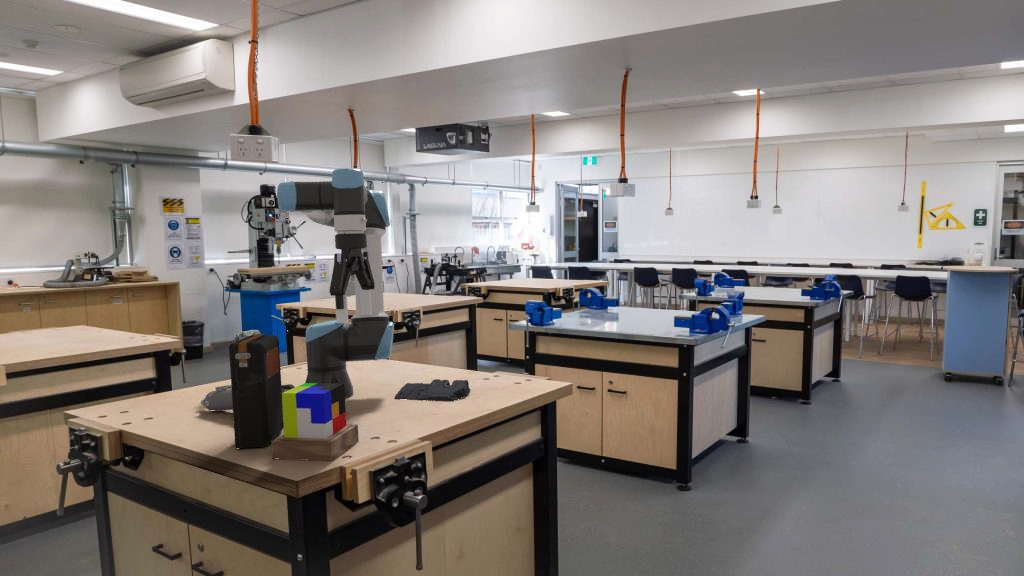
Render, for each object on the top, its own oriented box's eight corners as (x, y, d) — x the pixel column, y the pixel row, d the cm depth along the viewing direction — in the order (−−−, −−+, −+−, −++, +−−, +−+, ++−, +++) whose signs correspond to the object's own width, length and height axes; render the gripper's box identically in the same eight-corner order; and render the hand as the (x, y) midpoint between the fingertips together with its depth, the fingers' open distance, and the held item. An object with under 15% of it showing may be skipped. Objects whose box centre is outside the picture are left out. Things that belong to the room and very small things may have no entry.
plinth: (304, 439, 153) (303, 422, 153) (358, 440, 151) (357, 423, 150) (272, 459, 139) (271, 440, 139) (331, 460, 137) (330, 441, 137)
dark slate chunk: (409, 389, 206) (409, 375, 205) (474, 391, 200) (474, 376, 200) (390, 401, 191) (389, 385, 191) (459, 403, 186) (458, 387, 185)
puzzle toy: (326, 438, 139) (323, 393, 138) (284, 437, 141) (281, 393, 140) (346, 425, 149) (344, 383, 148) (307, 424, 151) (304, 383, 150)
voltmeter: (252, 431, 162) (246, 334, 160) (287, 429, 162) (281, 332, 161) (230, 451, 146) (223, 343, 144) (269, 449, 147) (262, 342, 145)
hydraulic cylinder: (282, 417, 166) (276, 379, 166) (196, 424, 183) (190, 390, 183) (304, 410, 172) (298, 374, 172) (218, 418, 190) (212, 385, 190)
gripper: (341, 232, 142) (346, 326, 144) (384, 232, 167) (388, 312, 169) (310, 233, 144) (316, 326, 146) (358, 232, 168) (362, 312, 170)
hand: (355, 318), depth 157 cm, fingers open, 13 cm apart
